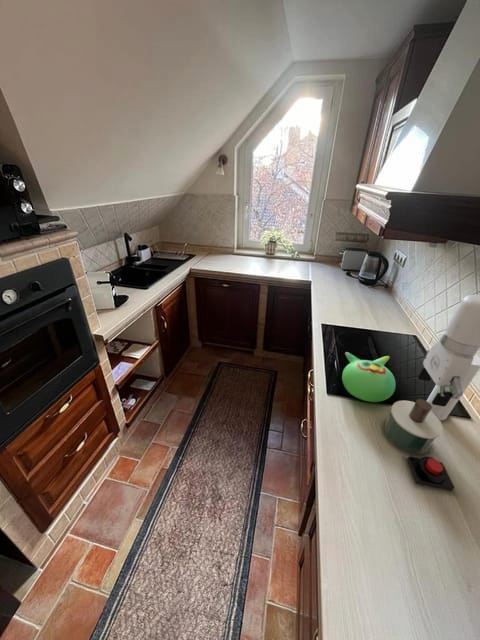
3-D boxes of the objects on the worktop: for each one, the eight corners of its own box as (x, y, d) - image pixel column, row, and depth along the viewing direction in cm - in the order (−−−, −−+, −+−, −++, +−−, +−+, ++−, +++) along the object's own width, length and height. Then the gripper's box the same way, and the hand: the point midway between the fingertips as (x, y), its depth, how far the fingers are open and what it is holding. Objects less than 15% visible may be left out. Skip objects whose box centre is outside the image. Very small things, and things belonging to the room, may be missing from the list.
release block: (439, 465, 75) (444, 458, 73) (451, 491, 69) (457, 484, 67) (406, 459, 76) (410, 452, 74) (415, 483, 70) (420, 476, 68)
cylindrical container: (424, 400, 96) (454, 347, 83) (446, 410, 92) (482, 356, 79) (422, 413, 91) (454, 359, 78) (446, 423, 87) (484, 368, 74)
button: (436, 463, 72) (439, 459, 71) (442, 476, 69) (445, 472, 68) (422, 460, 73) (425, 457, 72) (428, 473, 70) (430, 470, 69)
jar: (418, 423, 87) (429, 406, 83) (435, 458, 76) (448, 441, 72) (380, 416, 89) (387, 399, 85) (390, 449, 78) (400, 432, 74)
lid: (429, 406, 83) (438, 391, 80) (450, 444, 72) (462, 428, 68) (385, 399, 86) (392, 384, 82) (398, 435, 74) (407, 419, 70)
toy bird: (340, 404, 93) (350, 374, 86) (336, 373, 107) (344, 345, 100) (393, 414, 90) (408, 384, 82) (382, 381, 104) (394, 353, 96)
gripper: (428, 323, 71) (405, 369, 80) (461, 363, 57) (428, 413, 66) (457, 327, 70) (431, 373, 79) (498, 368, 56) (461, 419, 65)
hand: (430, 391), depth 72 cm, fingers open, 9 cm apart
